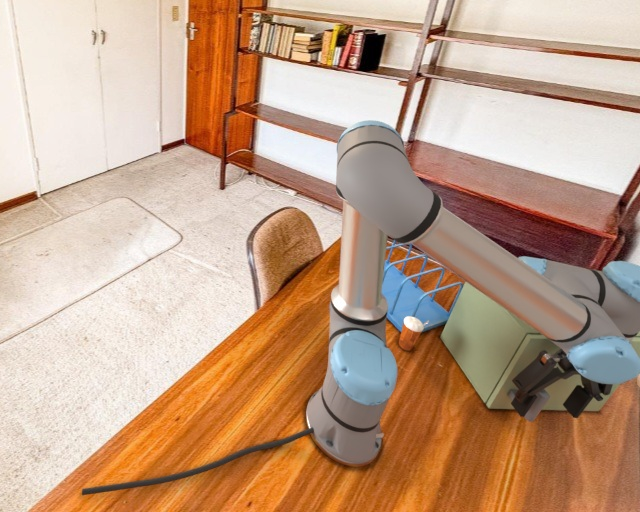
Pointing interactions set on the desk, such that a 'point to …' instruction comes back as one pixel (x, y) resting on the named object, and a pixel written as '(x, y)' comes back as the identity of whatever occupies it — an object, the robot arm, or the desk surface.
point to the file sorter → (412, 295)
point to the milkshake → (410, 332)
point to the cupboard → (483, 339)
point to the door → (550, 395)
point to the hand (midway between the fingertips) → (543, 410)
